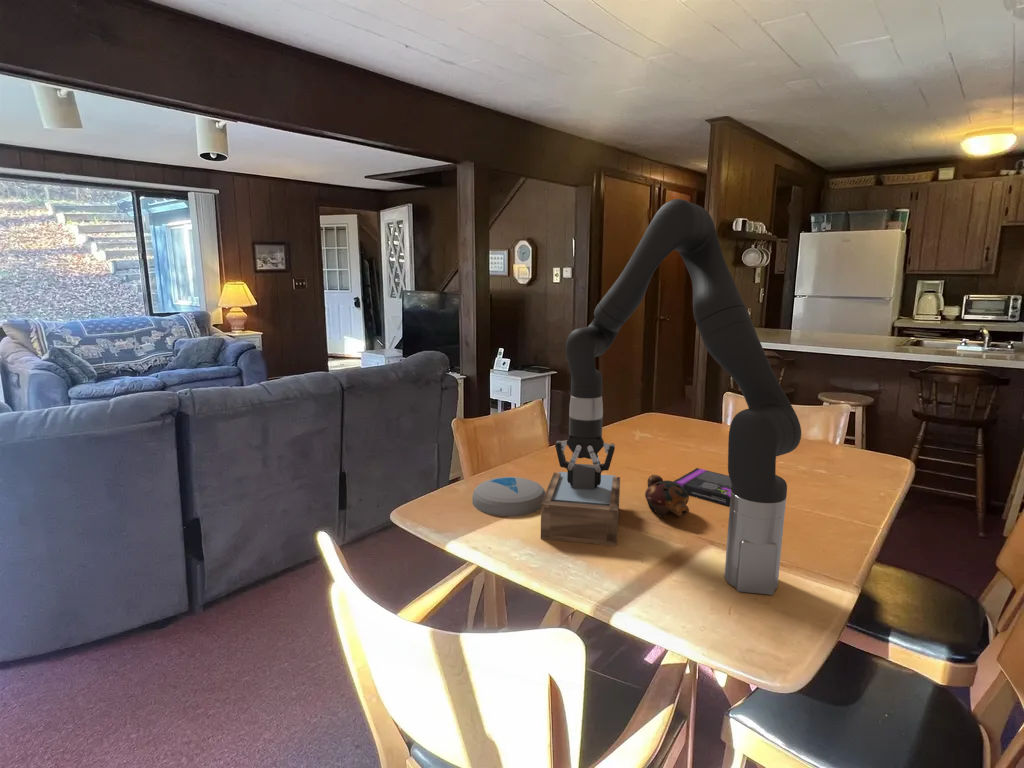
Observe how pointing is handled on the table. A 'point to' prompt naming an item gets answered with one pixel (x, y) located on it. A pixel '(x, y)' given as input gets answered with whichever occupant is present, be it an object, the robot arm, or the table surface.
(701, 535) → the table surface
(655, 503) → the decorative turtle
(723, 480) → the box
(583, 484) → the lid
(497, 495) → the grey thick disc
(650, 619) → the table surface
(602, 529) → the walnut box
